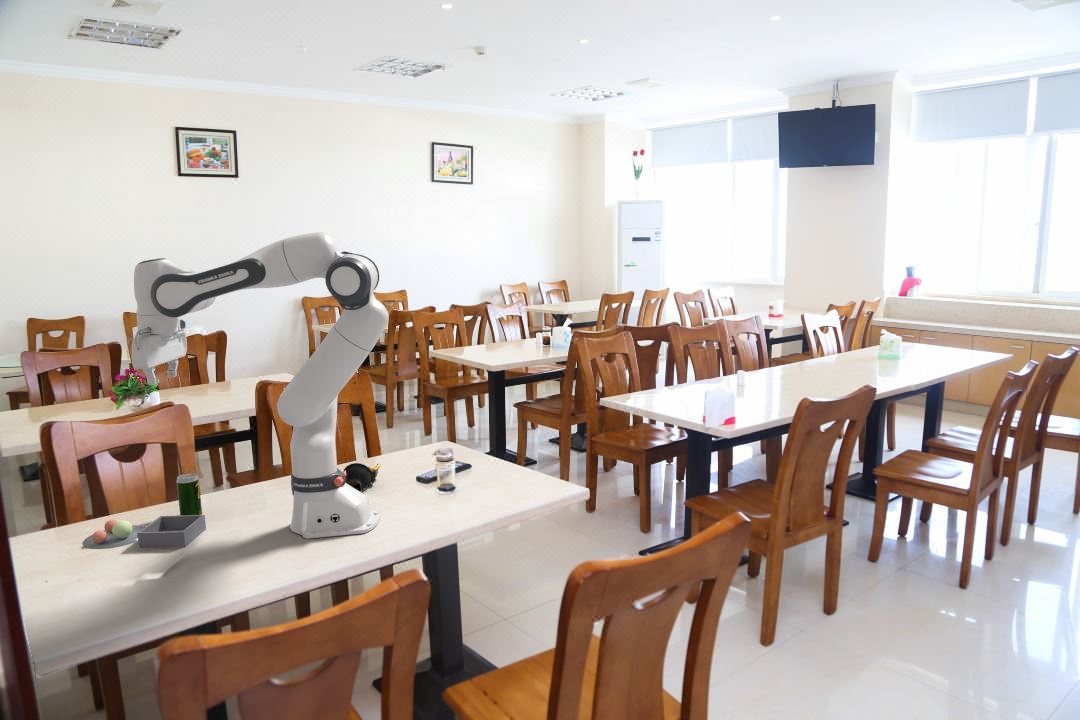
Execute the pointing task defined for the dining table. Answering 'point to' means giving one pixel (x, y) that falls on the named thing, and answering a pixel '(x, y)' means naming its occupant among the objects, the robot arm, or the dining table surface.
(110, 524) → the tomato
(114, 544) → the slate plate
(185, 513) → the beer can
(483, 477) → the dining table surface
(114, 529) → the lettuce ball
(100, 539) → the tomato
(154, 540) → the bin
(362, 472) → the fried shrimp in bowl
